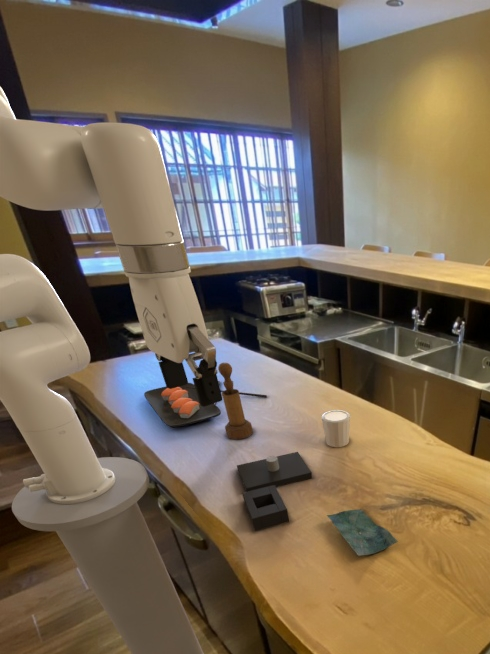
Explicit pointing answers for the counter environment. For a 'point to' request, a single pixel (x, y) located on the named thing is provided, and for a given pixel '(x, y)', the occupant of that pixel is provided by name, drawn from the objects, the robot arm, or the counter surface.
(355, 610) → the counter surface
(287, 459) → the base pad
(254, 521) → the black block with hole
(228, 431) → the wooden pepper mill
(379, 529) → the nori seaweed sheet
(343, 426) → the white cup
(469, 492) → the counter surface
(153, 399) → the sushi plate
